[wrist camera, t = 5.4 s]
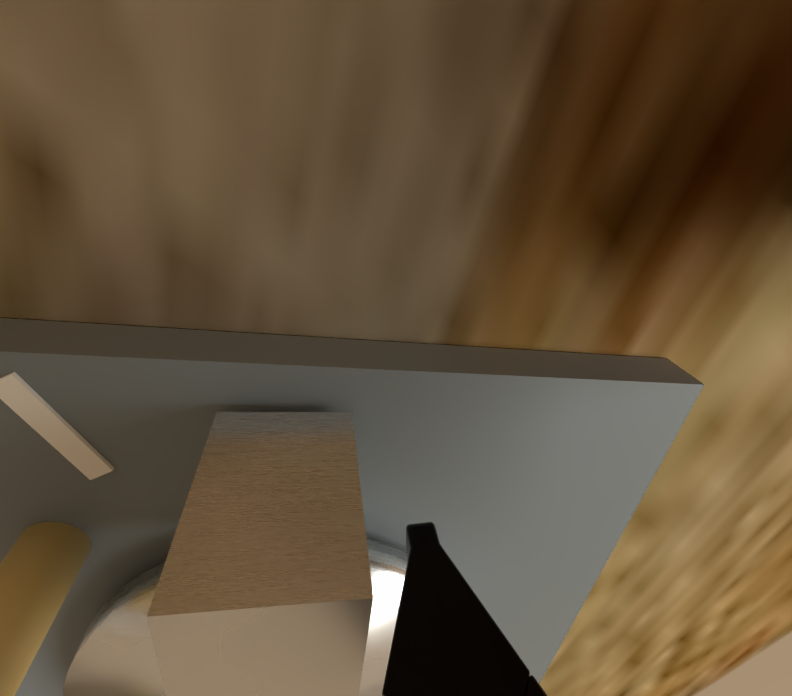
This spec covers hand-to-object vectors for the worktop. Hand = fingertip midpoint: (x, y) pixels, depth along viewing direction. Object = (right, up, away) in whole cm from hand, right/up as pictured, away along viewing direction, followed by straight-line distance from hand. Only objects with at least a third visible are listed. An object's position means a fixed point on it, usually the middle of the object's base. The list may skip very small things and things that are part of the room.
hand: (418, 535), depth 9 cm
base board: (-4, -5, +7) cm, 10 cm away
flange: (-5, -5, +4) cm, 8 cm away
